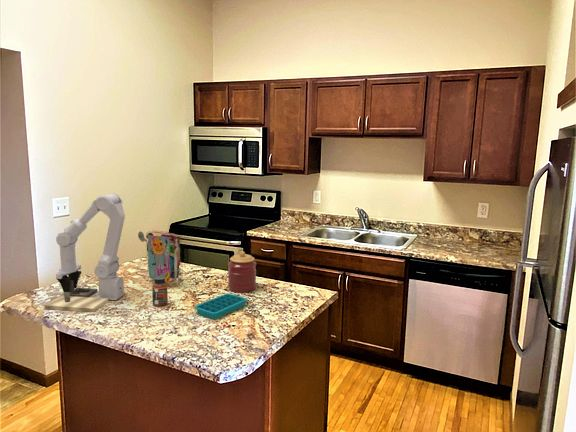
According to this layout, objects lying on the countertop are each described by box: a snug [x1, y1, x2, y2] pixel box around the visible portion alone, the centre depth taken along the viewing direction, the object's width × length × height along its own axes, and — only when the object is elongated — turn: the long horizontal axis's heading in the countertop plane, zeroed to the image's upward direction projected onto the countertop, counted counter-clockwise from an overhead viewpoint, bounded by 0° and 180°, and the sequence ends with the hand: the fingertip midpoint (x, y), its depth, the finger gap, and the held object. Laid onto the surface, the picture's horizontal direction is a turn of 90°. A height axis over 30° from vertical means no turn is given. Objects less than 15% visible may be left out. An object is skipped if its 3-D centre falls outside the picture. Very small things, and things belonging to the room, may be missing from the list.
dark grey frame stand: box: [69, 280, 99, 297], centre depth 181 cm, size 11×9×6 cm
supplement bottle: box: [151, 277, 169, 307], centre depth 172 cm, size 6×6×11 cm
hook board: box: [44, 292, 109, 313], centre depth 169 cm, size 20×11×5 cm, turn 84°
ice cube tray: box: [193, 293, 248, 320], centre depth 169 cm, size 12×20×3 cm, turn 146°
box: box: [137, 230, 184, 288], centre depth 198 cm, size 25×6×24 cm, turn 62°
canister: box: [227, 250, 257, 293], centre depth 193 cm, size 13×13×18 cm
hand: (70, 290), depth 181 cm, fingers open, 5 cm apart
